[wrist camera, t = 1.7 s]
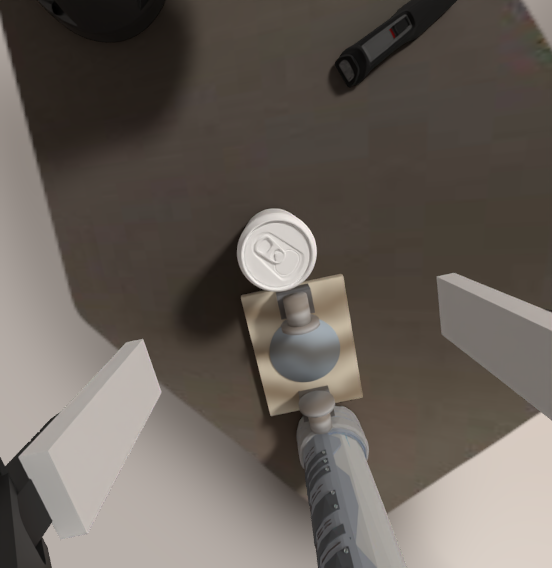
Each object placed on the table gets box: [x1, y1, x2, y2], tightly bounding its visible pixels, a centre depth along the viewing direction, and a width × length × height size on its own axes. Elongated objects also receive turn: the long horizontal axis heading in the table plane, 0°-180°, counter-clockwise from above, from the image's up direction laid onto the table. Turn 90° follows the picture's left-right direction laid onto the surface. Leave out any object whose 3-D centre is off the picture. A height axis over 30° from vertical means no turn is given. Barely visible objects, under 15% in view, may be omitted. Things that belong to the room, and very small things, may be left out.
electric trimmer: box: [335, 0, 457, 87], centre depth 37 cm, size 4×16×3 cm, turn 125°
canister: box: [296, 406, 407, 568], centre depth 37 cm, size 10×10×30 cm
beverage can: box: [237, 209, 317, 292], centre depth 38 cm, size 8×8×12 cm
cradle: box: [241, 274, 363, 434], centre depth 44 cm, size 19×14×8 cm
